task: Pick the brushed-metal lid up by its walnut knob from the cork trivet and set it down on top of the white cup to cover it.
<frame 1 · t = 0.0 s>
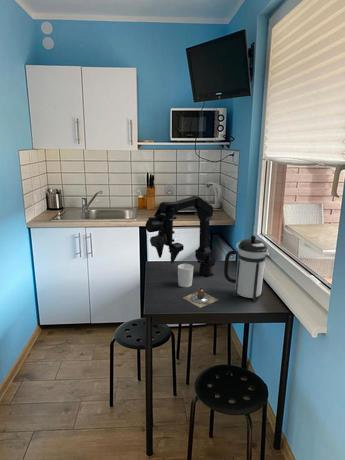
hand: (165, 260, 159), 15 cm above the table, fingers open, 9 cm apart
trivet: (200, 299, 152), on the table
white cup: (184, 285, 167), on the table
lid: (200, 298, 152), resting on trivet
coffee press: (244, 295, 158), on the table
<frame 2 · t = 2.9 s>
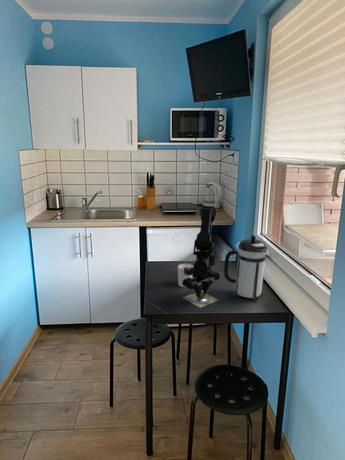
hand: (200, 296, 152), 2 cm above the table, fingers closed on lid, 3 cm apart
lid: (200, 298, 152), resting on trivet, touching gripper
everything else where it was.
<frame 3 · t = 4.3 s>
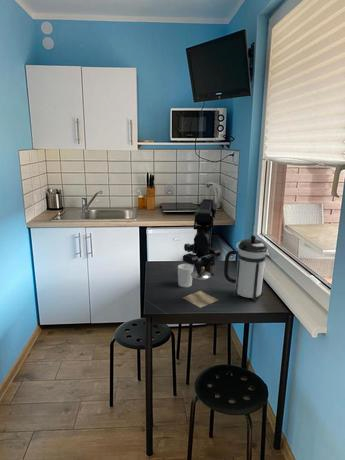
hand: (201, 273, 150), 13 cm above the table, fingers closed on lid, 3 cm apart
lid: (201, 275, 150), point 12 cm above the table, touching gripper
everything else where it was.
when the fingers open (12 cm above the table, at t = 5.8 s): lid drops 1 cm, resting on white cup.
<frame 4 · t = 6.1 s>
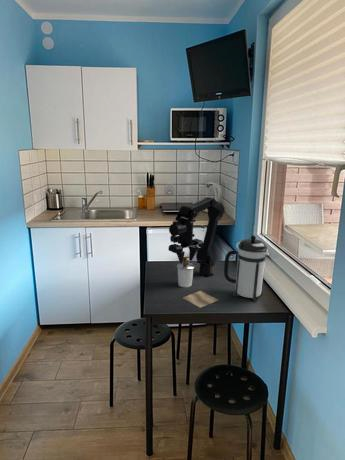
hand: (185, 262, 164), 12 cm above the table, fingers open, 6 cm apart
white cup: (184, 285, 167), on the table, touching lid
lid: (185, 266, 164), point 10 cm above the table, touching white cup
everything else where it was.
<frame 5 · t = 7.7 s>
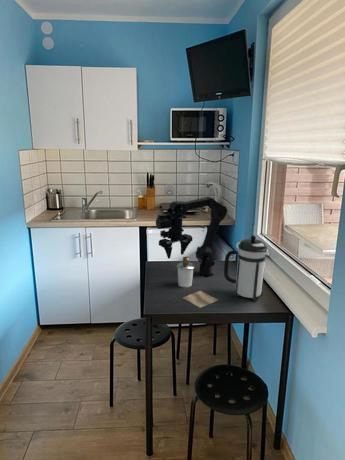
hand: (175, 256, 169), 13 cm above the table, fingers open, 9 cm apart
nothing on the table moved.
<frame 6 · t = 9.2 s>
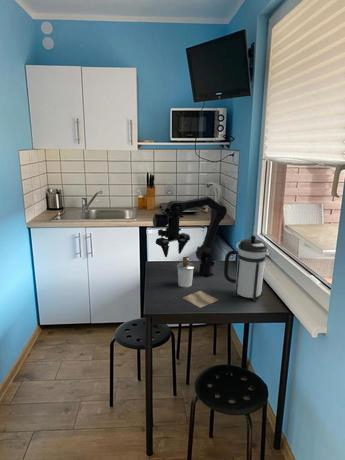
hand: (172, 255, 171), 13 cm above the table, fingers open, 9 cm apart
nothing on the table moved.
at the end: lid 0.0 cm off-centre on the white cup, point 10.2 cm above the white cup's base; lid tilted 0°; white cup tilted 0° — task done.
